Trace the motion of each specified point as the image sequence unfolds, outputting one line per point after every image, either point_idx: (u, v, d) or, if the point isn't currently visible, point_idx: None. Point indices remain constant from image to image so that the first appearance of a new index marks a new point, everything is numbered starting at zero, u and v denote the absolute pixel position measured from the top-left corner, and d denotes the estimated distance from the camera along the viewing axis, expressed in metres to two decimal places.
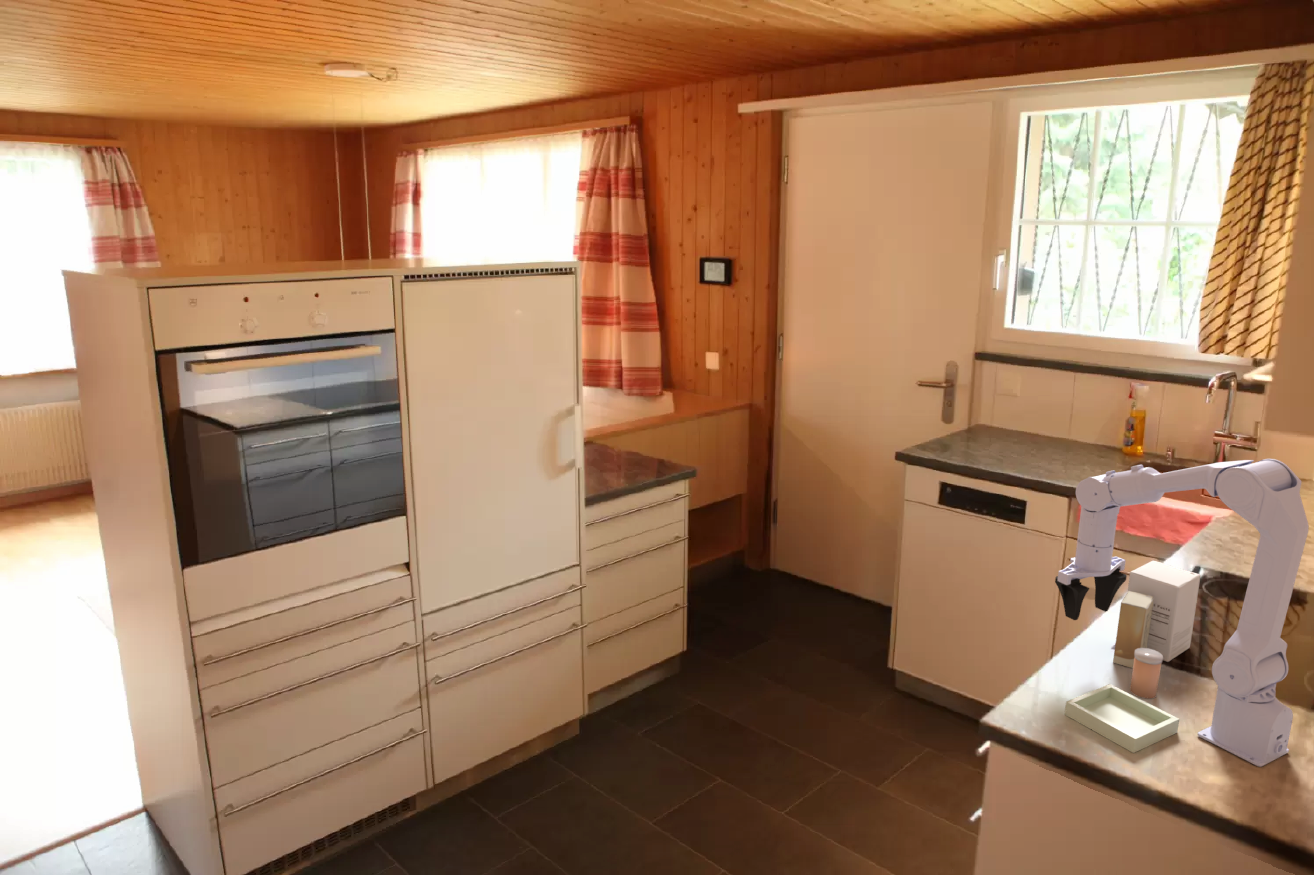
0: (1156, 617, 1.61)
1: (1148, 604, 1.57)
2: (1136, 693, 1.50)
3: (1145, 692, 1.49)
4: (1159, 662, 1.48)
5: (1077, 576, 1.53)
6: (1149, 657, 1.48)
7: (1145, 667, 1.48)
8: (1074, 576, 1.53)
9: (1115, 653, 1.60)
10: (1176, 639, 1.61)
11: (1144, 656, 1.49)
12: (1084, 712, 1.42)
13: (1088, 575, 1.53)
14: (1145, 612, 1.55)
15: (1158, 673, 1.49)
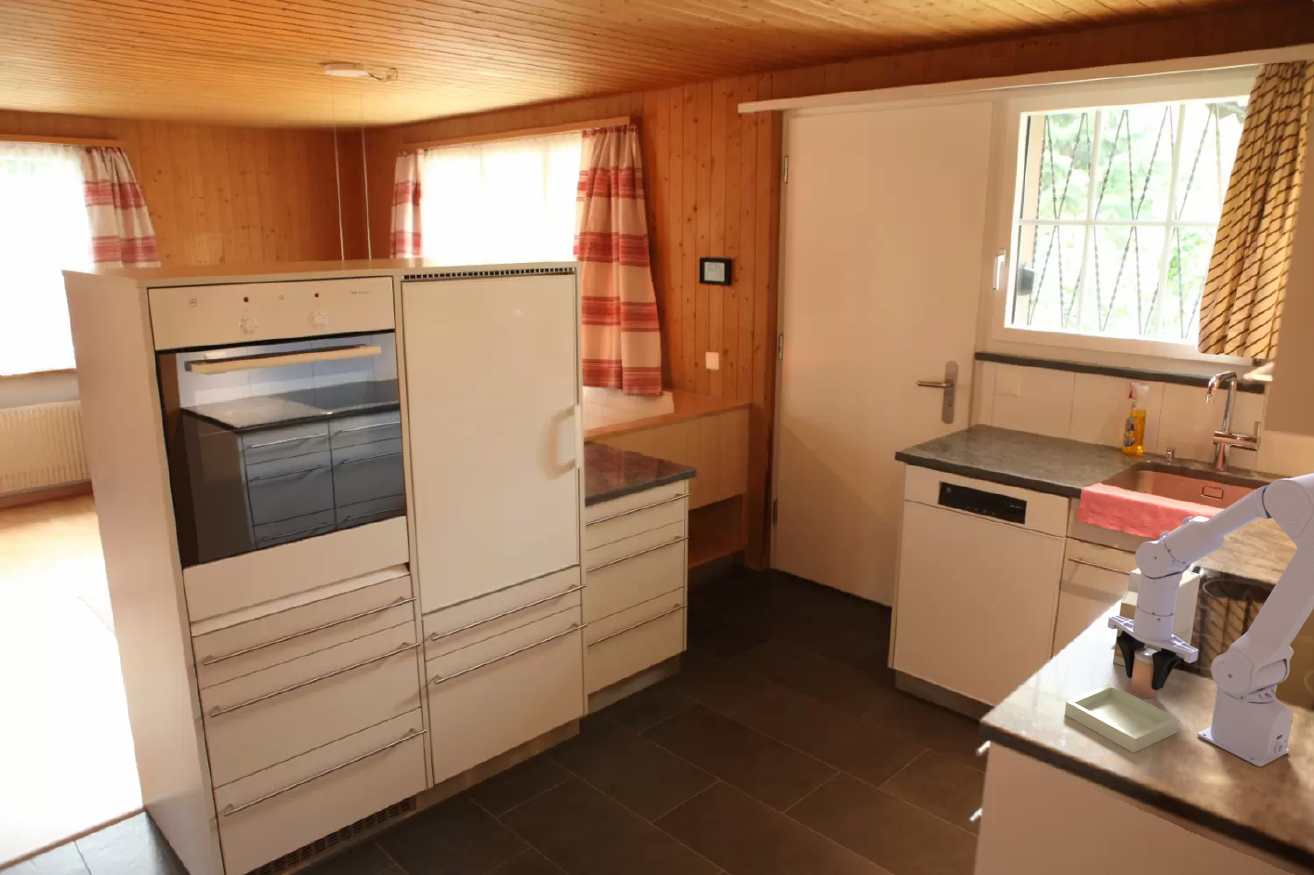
0: None
1: None
2: (1136, 693, 1.50)
3: (1145, 692, 1.49)
4: None
5: (1117, 624, 1.53)
6: (1149, 657, 1.48)
7: (1145, 667, 1.48)
8: (1115, 623, 1.53)
9: (1115, 653, 1.60)
10: None
11: (1144, 656, 1.49)
12: (1084, 712, 1.42)
13: (1125, 629, 1.51)
14: None
15: None
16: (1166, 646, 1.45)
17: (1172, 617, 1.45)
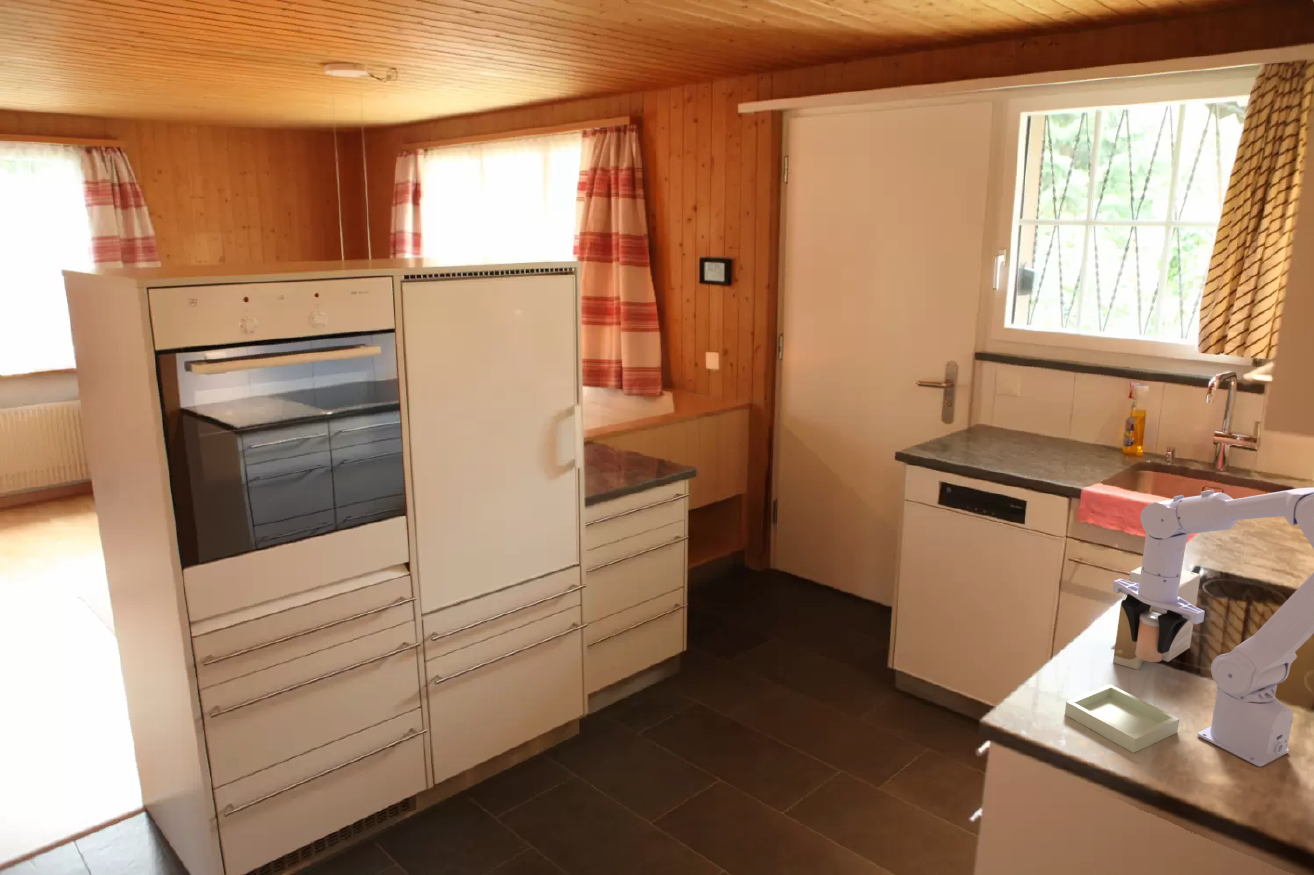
0: None
1: None
2: (1141, 657, 1.49)
3: (1151, 655, 1.48)
4: None
5: (1122, 588, 1.51)
6: (1155, 620, 1.47)
7: (1151, 630, 1.47)
8: (1120, 586, 1.51)
9: (1115, 653, 1.60)
10: (1176, 639, 1.61)
11: (1149, 619, 1.47)
12: (1084, 712, 1.42)
13: (1130, 592, 1.49)
14: None
15: None
16: (1172, 608, 1.43)
17: (1178, 578, 1.44)
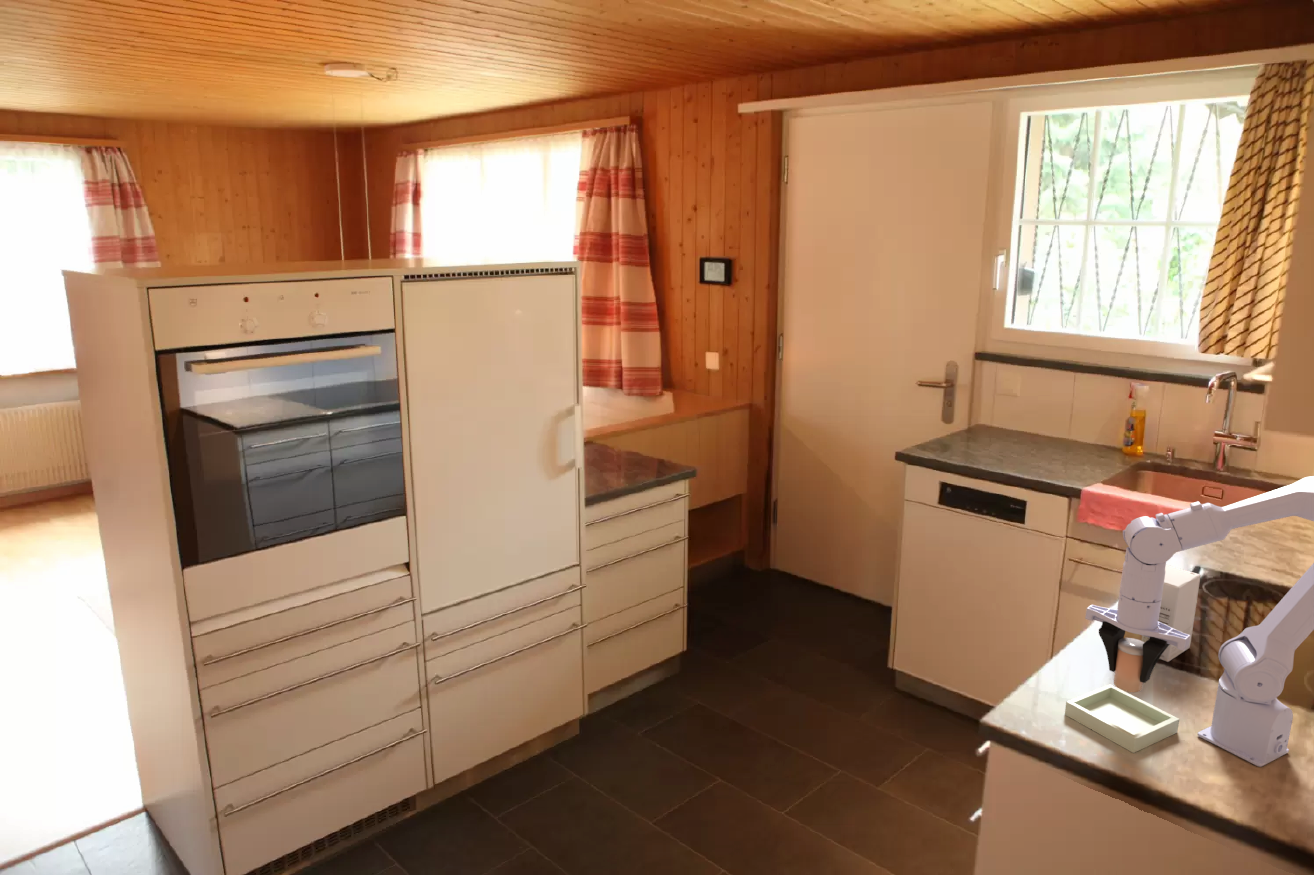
0: None
1: None
2: (1123, 688, 1.39)
3: (1133, 686, 1.38)
4: None
5: (1097, 615, 1.41)
6: (1136, 648, 1.37)
7: (1133, 659, 1.37)
8: (1094, 614, 1.41)
9: None
10: None
11: (1131, 647, 1.38)
12: (1084, 712, 1.42)
13: (1108, 620, 1.39)
14: None
15: None
16: (1157, 635, 1.34)
17: (1160, 603, 1.35)
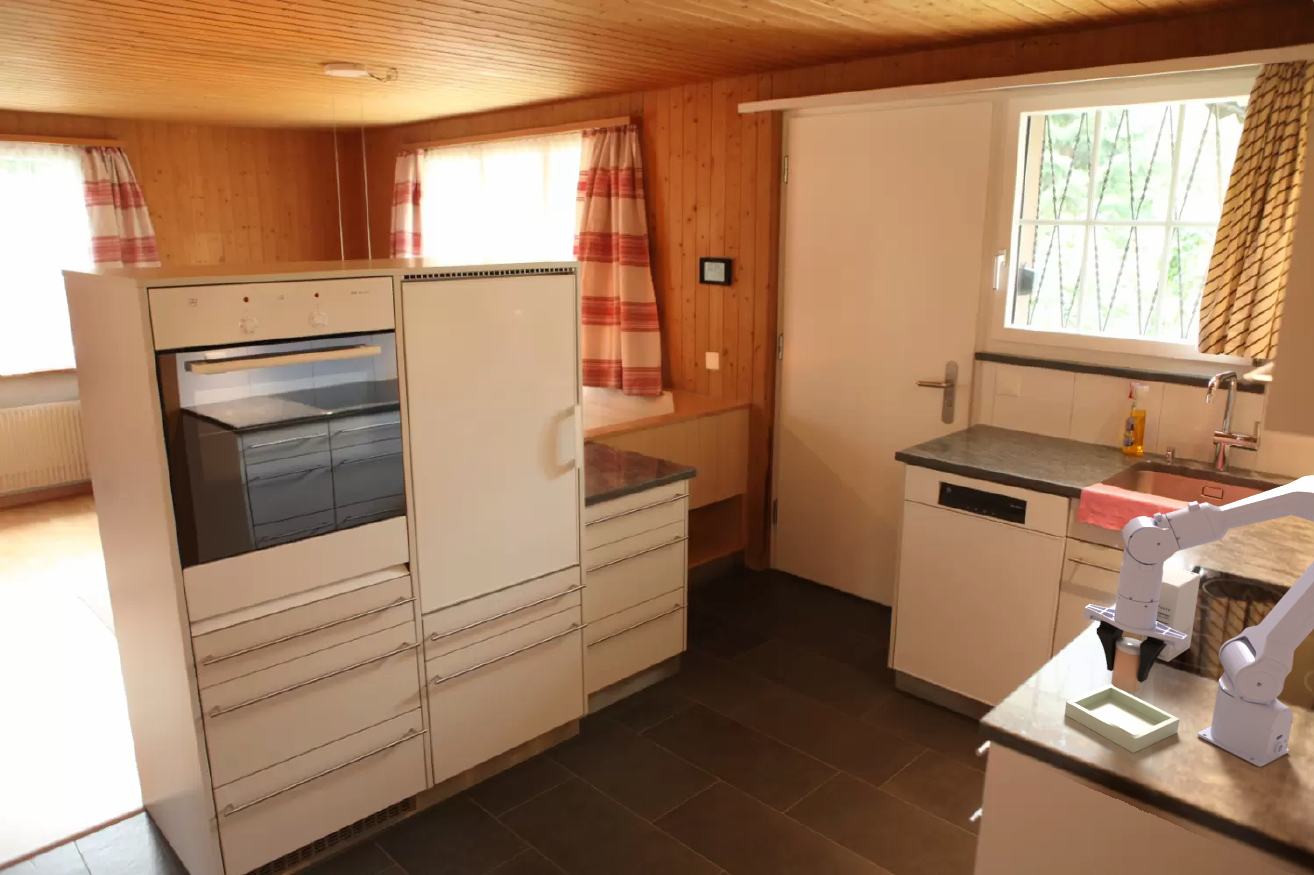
0: None
1: None
2: (1120, 687, 1.39)
3: (1130, 685, 1.39)
4: None
5: (1095, 614, 1.41)
6: (1133, 647, 1.38)
7: (1131, 658, 1.38)
8: (1093, 613, 1.42)
9: None
10: None
11: (1128, 647, 1.38)
12: (1084, 712, 1.42)
13: (1106, 620, 1.39)
14: None
15: None
16: (1155, 634, 1.34)
17: (1158, 602, 1.35)
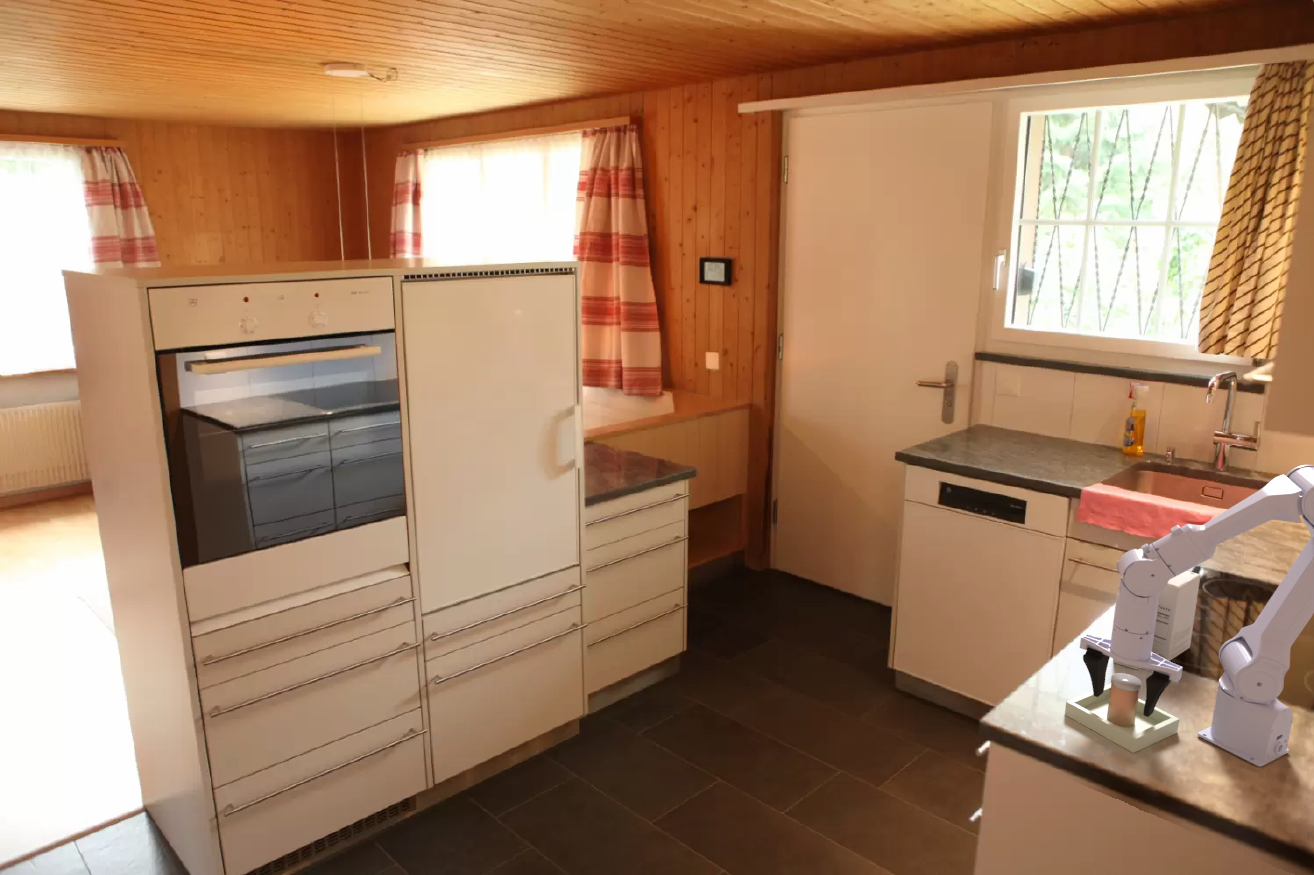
0: (1156, 617, 1.61)
1: None
2: (1116, 722, 1.41)
3: (1125, 721, 1.40)
4: (1139, 688, 1.39)
5: (1091, 645, 1.42)
6: (1128, 683, 1.39)
7: (1126, 695, 1.39)
8: (1089, 643, 1.43)
9: None
10: (1176, 639, 1.61)
11: (1123, 683, 1.39)
12: (1084, 712, 1.42)
13: (1102, 650, 1.41)
14: None
15: (1137, 700, 1.40)
16: (1150, 666, 1.35)
17: (1153, 634, 1.36)
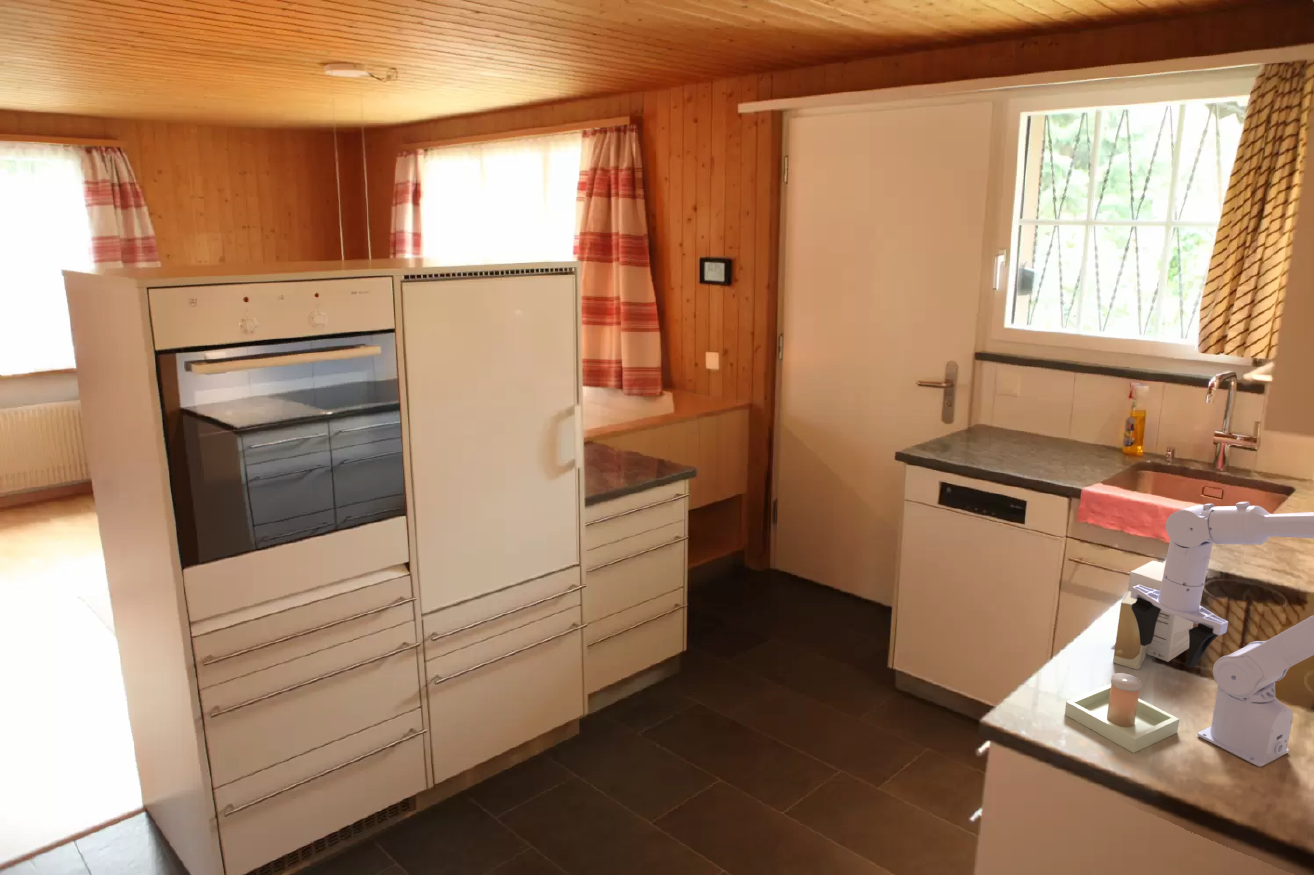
0: None
1: None
2: (1116, 722, 1.41)
3: (1125, 721, 1.40)
4: (1139, 688, 1.39)
5: (1141, 594, 1.46)
6: (1128, 684, 1.39)
7: (1126, 695, 1.39)
8: (1139, 593, 1.47)
9: (1115, 653, 1.60)
10: (1176, 639, 1.61)
11: (1123, 683, 1.39)
12: (1084, 712, 1.42)
13: (1150, 600, 1.44)
14: None
15: (1137, 700, 1.40)
16: (1194, 618, 1.38)
17: (1201, 587, 1.39)
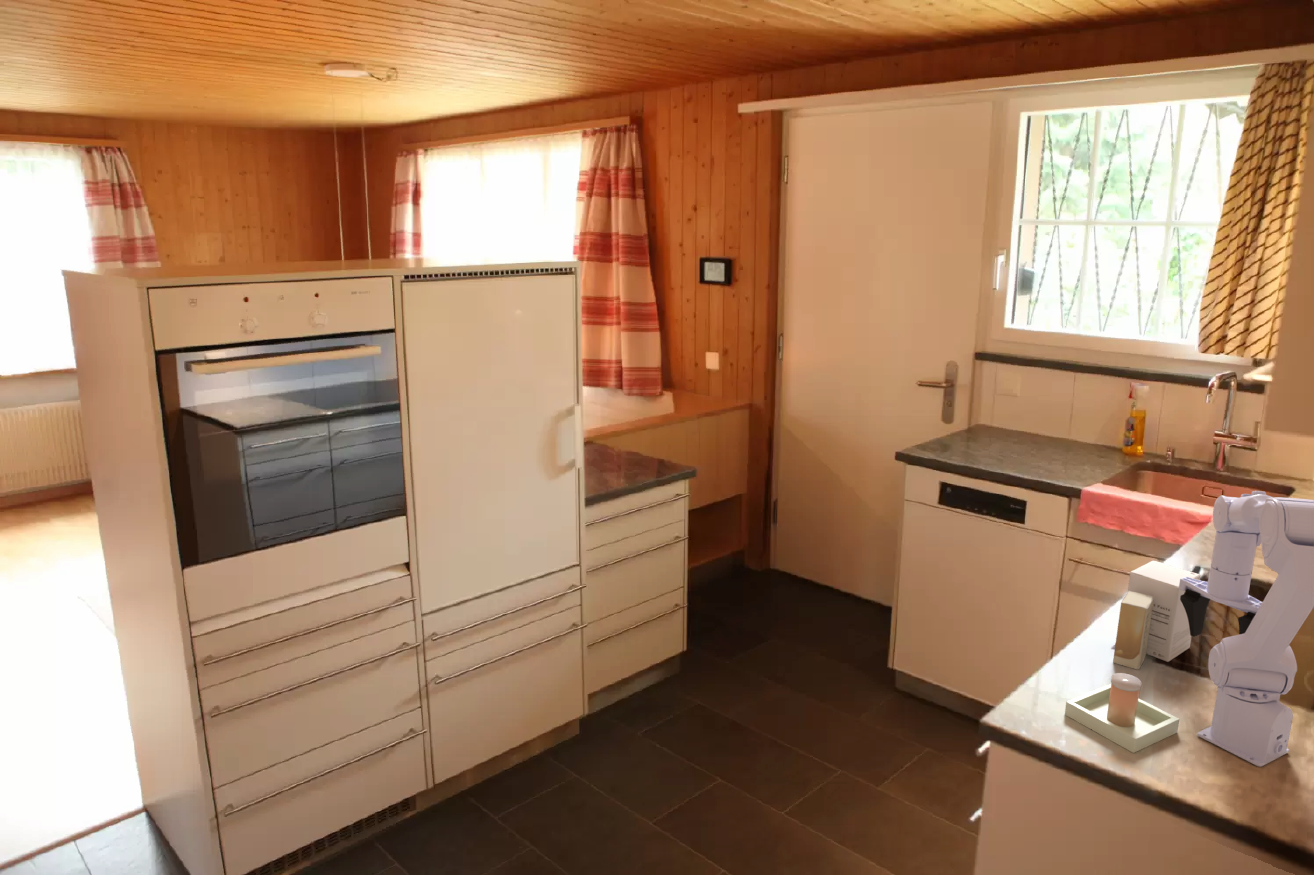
0: (1156, 617, 1.61)
1: (1148, 604, 1.57)
2: (1116, 722, 1.41)
3: (1125, 721, 1.40)
4: (1139, 688, 1.39)
5: (1189, 586, 1.50)
6: (1128, 684, 1.39)
7: (1126, 695, 1.39)
8: (1187, 584, 1.50)
9: (1115, 653, 1.60)
10: (1176, 639, 1.61)
11: (1123, 683, 1.39)
12: (1084, 712, 1.42)
13: (1198, 590, 1.48)
14: (1145, 612, 1.55)
15: (1137, 700, 1.40)
16: (1243, 606, 1.42)
17: (1249, 576, 1.42)
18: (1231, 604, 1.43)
